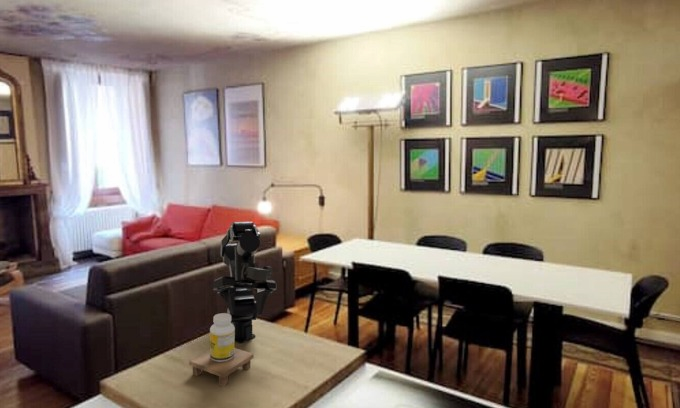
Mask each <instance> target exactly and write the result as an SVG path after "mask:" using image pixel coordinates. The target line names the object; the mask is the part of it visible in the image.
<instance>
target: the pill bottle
mask: <svg viewBox="0 0 680 408" xmlns="http://www.w3.org/2000/svg"><path fill="white" fill-rule="evenodd" d="M212 318H213V320H212V321H213V324H212V325H211V326H210V328H209V349H210V358H211V359H212V360H214V361H217V362H224V361H228V360H230V359H232V358H233V356H234V348H235V341H234V340H235V327H234V325H233V324H232V323H230V322H231V320H232V319H231V315H230V314H227V312H223V313H216V314H215V315H214V316H213V317H212Z"/></svg>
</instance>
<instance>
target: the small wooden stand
mask: <svg viewBox="0 0 680 408" xmlns="http://www.w3.org/2000/svg"><path fill="white" fill-rule="evenodd" d="M254 356H255V355H254V353H251V352H249V351H246V350H242V349H239V348H236V347H234V356H233V358H232V359H230V360H228V361H224V362H217V361H214V360H212V359H211V358H210V348H209V349H208V350H205V351H204V352H203V353H201V354H199V355H197V356H195V357H194V358H191V359H189V360H188V366H191V367H192V375H193V376H196V377H198V376H199V375H201V374H202V371H205V372H208V373H210V374H211V375H215V376H218V385H220V386H222V387H224V386H227V385H228V383H229V375H230V374H232V373H233V372H235V371H237V370H239V368H241V369H242V370H245V371H248V370H249V369H251V361H252V360H253V359H254Z"/></svg>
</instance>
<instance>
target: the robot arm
mask: <svg viewBox="0 0 680 408" xmlns="http://www.w3.org/2000/svg"><path fill="white" fill-rule="evenodd" d="M260 236H261V233H260V232H259V229H258V228H257V225H255V223H254V222H253V221H232V223H231V224H230V226H229V228H227V231H226V235H224V237H222V239H221V241H220V257H221V258H222V260H223V261H222V262H223V264H225V265H226V266H227V267H228V270H229V274H230V276H227V275H226V276H224V275H223V276H220V277H218V278H215V279H214V280H213V282H212V290H213V291H216V293H217V294H219V295H220V297H221V298H222V300H223V302H224V303H225V305H226V307H227V311H226V313H227V314H230V315H231V319H232V320H231V322H230V323H232V324H233V325H234V327H235V340H234V342H237V343H239V344H241V343H245V342H246V341H249V340H250V339H253V338H255V337H256V334H254V333H253V321H256V320H257V319H258V316H262V315H263V310H264V307H265V303H266V300H267V298H268V296H270V294H272V293H273V292H274V291H276V290H277V282H276V281H275V280H273V279H271V278H272V276H273V268H272V266H270V265H269V266H267V265H264V266H263V268H259V265H258V263H257V262H255V258H256V257H255V254H256V252H257V251H258V249H259V247H260V244H261V242H260ZM230 241H232V242H233V243H230ZM234 242H237V243H234ZM253 290H255V293H254V292H253Z"/></svg>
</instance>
